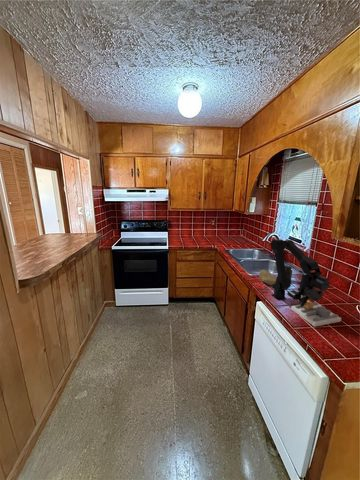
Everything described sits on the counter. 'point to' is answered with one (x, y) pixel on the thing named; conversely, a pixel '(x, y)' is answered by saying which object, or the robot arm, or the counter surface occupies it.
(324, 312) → the fader grey
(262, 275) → the sponge
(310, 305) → the fader orange
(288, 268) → the supplement bottle
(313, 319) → the console
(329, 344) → the counter surface
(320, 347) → the counter surface
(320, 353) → the counter surface
